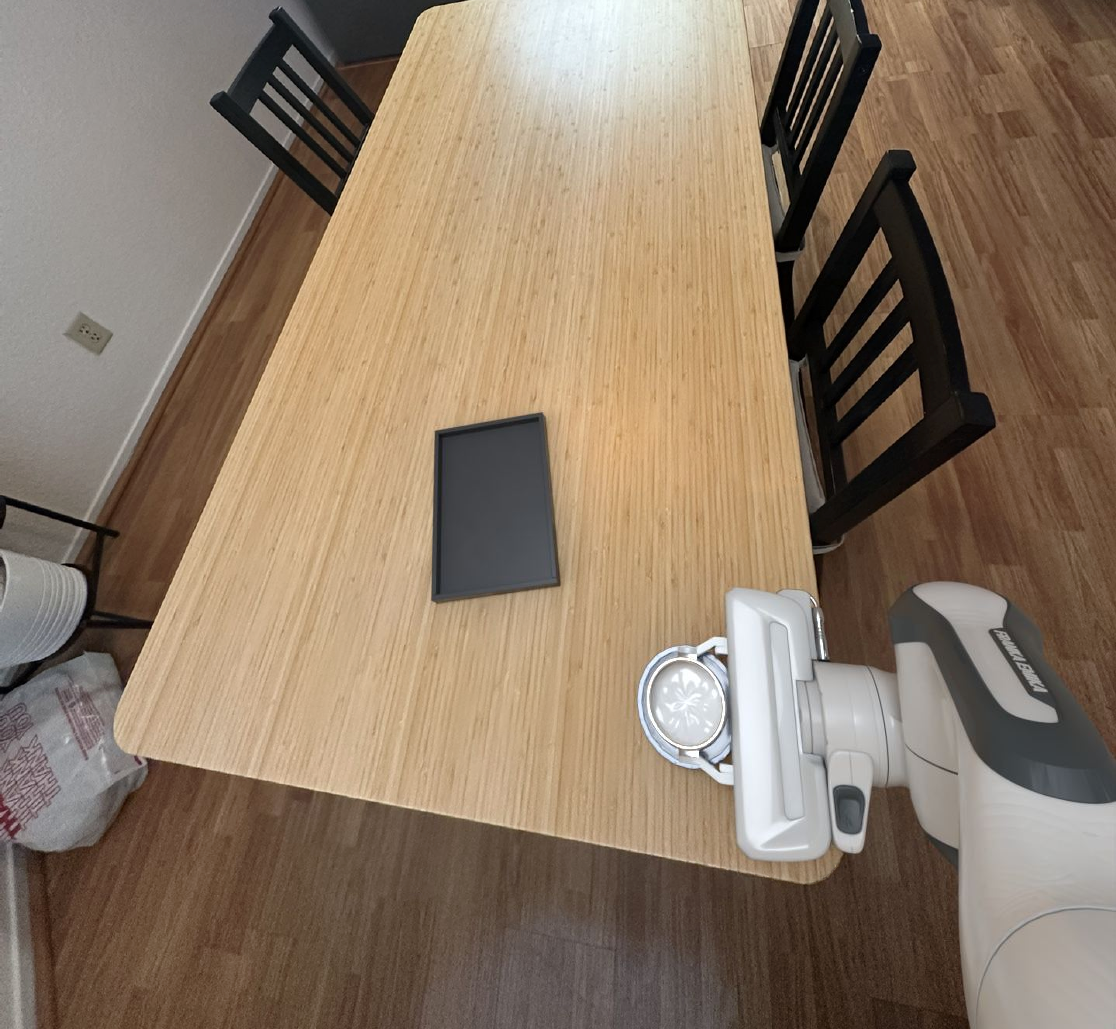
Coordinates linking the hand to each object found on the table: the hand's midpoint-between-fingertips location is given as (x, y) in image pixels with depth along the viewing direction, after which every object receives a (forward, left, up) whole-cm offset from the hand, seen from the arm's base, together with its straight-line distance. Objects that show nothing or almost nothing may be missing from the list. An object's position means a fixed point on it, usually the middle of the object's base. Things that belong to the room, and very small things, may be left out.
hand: (678, 702), depth 58 cm
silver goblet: (0, -1, -8) cm, 8 cm away
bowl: (0, -1, -8) cm, 8 cm away
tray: (+23, +19, -8) cm, 31 cm away
